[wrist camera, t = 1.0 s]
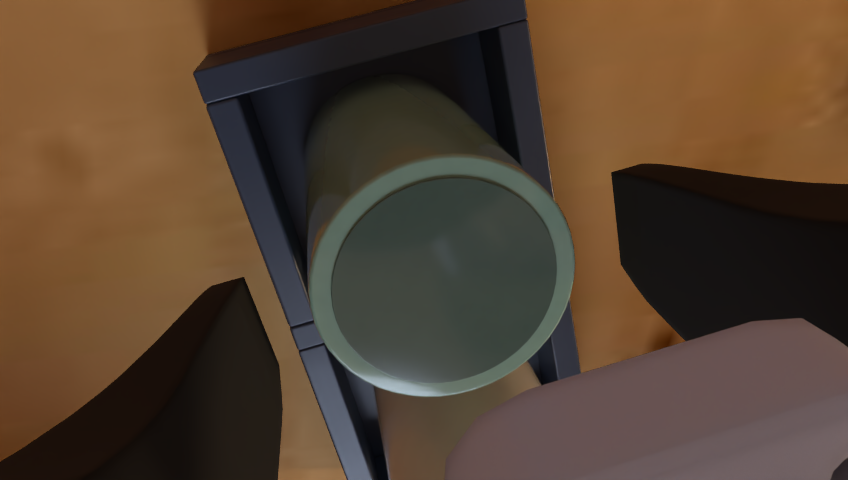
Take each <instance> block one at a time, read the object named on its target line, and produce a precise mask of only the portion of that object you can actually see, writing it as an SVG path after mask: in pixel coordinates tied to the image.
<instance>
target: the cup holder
mask: <svg viewBox="0 0 848 480" xmlns="http://www.w3.org/2000/svg"><path fill="white" fill-rule="evenodd" d="M526 18H527V10H526V3H525V0H416V1H412V2H408V3H404V4H400V5H397V6H393V7H389V8H385V9H381V10H377V11H374V12H370V13H366V14H362V15H358V16H355V17H351V18H347V19H343V20H339V21H335V22H332V23H328V24H324V25H320V26H316V27H312V28H309V29H305V30H301V31H297V32H293V33H289V34H286V35H282V36H278V37H274V38H270V39H267V40H263V41H259V42H255V43H251V44H247V45H244V46H240V47H236V48H232V49H228V50H224V51H221V52H217V53H213V54H209V55H207V56H206V58H205V59H204V60H203V61H202V62H201V64H200V65H199V66H198V67H197V68H196V70H195V71H194V72H193V74H194V77H195V80H196V82H197V85H198V88H199V90H200V93H201V96H202V98H203V101H204V103H205V104H207V111H208V113H209V116H210V119H211V121H212V124H213V127H214V129H215V132H216V134H217V137H218V140H219V142H220V145H221V148H222V150H223V153H224V156H225V158H226V161H227V164H228V166H229V169H230V171H231V174H232V177H233V179H234V182H235V185H236V187H237V190H238V193H239V195H240V198H241V200H242V203H243V206H244V208H245V211H246V214H247V216H248V219H249V222H250V224H251V227H252V230H253V232H254V235H255V237H256V240H257V243H258V245H259V248H260V251H261V253H262V256H263V259H264V261H265V264H266V267H267V269H268V272H269V274H270V277H271V280H272V282H273V285H274V288H275V290H276V293H277V296H278V298H279V301H280V303H281V306H282V309H283V311H284V314H285V317H286V319H287V322H288V324H289V326H290V330H291V333H292V336H293V338H294V341H295V343H296V346H297V348H298V350H299V354H300V357H301V359H302V362H303V365H304V367H305V370H306V373H307V375H308V378H309V381H310V383H311V386H312V389H313V391H314V394H315V396H316V399H317V402H318V404H319V407H320V410H321V412H322V415H323V418H324V420H325V423H326V425H327V428H328V431H329V433H330V436H331V439H332V441H333V444H334V447H335V449H336V452H337V454H338V457H339V460H340V462H341V465H342V468H343V470H344V473H345V476H346V478H347V480H388V474H387V468H386V462H385V457H384V451H383V445H382V439H381V434H380V428H379V422H378V416H377V411H376V405H375V399H374V393H373V388H372V384H370V383H367V382H365V381H364V380H362V379H361V378H359V377H357V376H356V375H354V374H353V373H351V372H350V371H349V370H348V369H347V368H346V367H344V366H343V365H342V364H341V363H340V362H339V361H338V360H337V359H336V358H335V357H334V356H333V354H332V353H331V352H330V351H329V350H328V348H327V347H326V345H325V343H324V342H323V340H322V339H321V337H320V335H319V333H318V330H317V328H316V326H315V324H314V321H313V317H312V313H311V310H310V304H309V295H308V275H307V246H306V218H305V189H304V147H305V141H306V138H307V134H308V131H309V128H310V126H311V124H312V122H313V120H314V118H315V116H316V115H317V113H318V112H319V110H320V109H321V108H322V106H323V105H324V104H325V103H326V102H327V101H328V100H329V99H330V98H331V97H332V96H333V95H334V94H335V93H336V92H338V91H339V90H341V89H342V88H344V87H345V86H347V85H349V84H351V83H353V82H355V81H357V80H360V79H362V78H365V77H368V76H373V75H378V74H390V73H393V74H405V75H410V76H414V77H417V78H420V79H423V80H426V81H428V82H430V83H431V84H433V85H435V86H437V87H438V88H440V89H441V90H442V91H444V92H445V93H446V94H447V95H448V96H449V97H451V98H452V99H453V100H454V101H455V102H456V103H457V104H458V105H459V106H460V107H461V108H462V109H463V110H464V111H465V112H466V113H467V114H468V115H469V116H470V117H471V118H472V119H473V120H474V121H475V122H476V123H477V124H479V125H480V126H481V127H482V128H483V129H484V130H485V131H486V132H487V133H488V134H489V135H490V136H491V137H492V138H493V139H494V140H495V141H496V142H497V143H498V144H499V145H500V146H501V147H502V148H503V149H504V150H505V151H506V152H508V153H509V154H510V155H511V156H512V157H513V158H514V159H515V160H516V161H517V162H518V163H519V164H520V165H521V166H522V167H523V168H524V169H525V170H526V171H527V172H528V173H529V174H530V175H531V176H532V177H533V178H534V179H535V180H536V181H538V182H539V183H540V184H541V185H542V186H543V187H544V188H545V189H546V190H547V191H548V192H549V194H550V195H551V196H552V197H553V199H554V200H555V198H554V191H553V184H552V178H551V171H550V164H549V158H548V151H547V145H546V138H545V131H544V125H543V118H542V111H541V105H540V98H539V91H538V85H537V78H536V71H535V65H534V58H533V51H532V45H531V38H530V31H529V25H528V21H527V20H526ZM528 362H529V363H530V365H531V367H532V369H533V371H534V372H535V374H536V376H537V378H538V380H539V381H540V383H541V385H545V384H548V383H551V382H554V381H558V380H561V379H564V378H567V377H571V376H574V375H577V374H581V370H580V363H579V357H578V350H577V343H576V337H575V330H574V323H573V317H572V310H571V303H570V298H569V301H568V303H567V306H566V309H565V311H564V313H563V315H562V317H561V319H560V321H559V323H558V325H557V326H556V328H555V329H554V331H553V332H552V334H551V335H550V337H549V338H548V339H547V340H546V342H545V343H544V344H543V345H542V346H541V348H540V349H539V350H538V351H537V352H536V353H535V354H534V355H533V356H532V357H530V358H529V359H528Z"/></svg>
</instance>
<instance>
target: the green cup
mask: <svg viewBox="0 0 848 480" xmlns="http://www.w3.org/2000/svg"><path fill="white" fill-rule="evenodd" d="M304 189H305V218H306V246H307V275H308V295H309V304H310V310H311V313H312V317H313V321H314V324H315V326H316V328H317V330H318V333H319V335H320V337H321V339H322V340H323V342H324V343H325V345H326V347H327V348H328V350H329V351H330V352H331V353H332V354H333V356H334V357H335V358H336V359H337V360H338V361H339V362H340V363H341V364H342V365H343V366H344V367H346V368H347V369H348V370H349V371H350V372H351V373H353V374H354V375H356V376H357V377H359V378H361V379H362V380H364V381H365V382H367V383H370V384H372V385H374V386H376V387H378V388H381V389H384V390H387V391H390V392H393V393H398V394H403V395H407V396H418V397H441V396H449V395H456V394H460V393H464V392H468V391H472V390H475V389H478V388H481V387H483V386H486V385H488V384H490V383H493V382H495V381H497V380H499V379H501V378H503V377H504V376H506V375H507V374H509V373H511V372H512V371H514V370H516V369H517V368H518V367H519V366H521V365H522V364H523V363H525V362H526V361H527V360H528V359H529V358H530V357H532V356H533V355H534V354H535V353H536V352H537V351H538V350H539V349H540V348H541V346H542V345H543V344H544V343H545V342H546V340H547V339H548V338H549V337H550V335H551V334H552V332H553V331H554V329H555V328H556V326H557V325H558V323H559V321H560V319H561V317H562V315H563V313H564V311H565V309H566V306H567V303H568V301H569V298H570V295H571V291H572V286H573V281H574V271H575V255H574V245H573V240H572V236H571V231H570V229H569V226H568V224H567V221H566V218H565V216H564V214H563V213H562V211H561V209H560V207H559V206H558V204H557V203H556V201H555V200H554V199H553V197H552V196H551V195H550V194H549V192H548V191H547V190H546V189H545V188H544V187H543V186H542V185H541V184H540V183H539V182H538V181H536V180H535V179H534V178H533V177H532V176H531V175H530V174H529V173H528V172H527V171H526V170H525V169H524V168H523V167H522V166H521V165H520V164H519V163H518V162H517V161H516V160H515V159H514V158H513V157H512V156H511V155H510V154H509V153H508V152H506V151H505V150H504V149H503V148H502V147H501V146H500V145H499V144H498V143H497V142H496V141H495V140H494V139H493V138H492V137H491V136H490V135H489V134H488V133H487V132H486V131H485V130H484V129H483V128H482V127H481V126H480V125H479V124H477V123H476V122H475V121H474V120H473V119H472V118H471V117H470V116H469V115H468V114H467V113H466V112H465V111H464V110H463V109H462V108H461V107H460V106H459V105H458V104H457V103H456V102H455V101H454V100H453V99H452V98H451V97H449V96H448V95H447V94H446V93H445V92H444V91H442V90H441V89H440V88H438V87H437V86H435V85H433V84H431V83H430V82H428V81H426V80H423V79H420V78H417V77H414V76H410V75H405V74H393V73H390V74H378V75H373V76H368V77H365V78H362V79H360V80H357V81H355V82H353V83H351V84H349V85H347V86H345V87H344V88H342V89H341V90H339V91H338V92H336V93H335V94H334V95H333V96H332V97H331V98H330V99H329V100H328V101H327V102H326V103H325V104H324V105H323V106H322V108H321V109H320V110H319V112H318V113H317V115H316V116H315V118H314V120H313V122H312V124H311V126H310V128H309V131H308V134H307V138H306V141H305V147H304Z"/></svg>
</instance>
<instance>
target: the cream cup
mask: <svg viewBox="0 0 848 480" xmlns="http://www.w3.org/2000/svg"><path fill="white" fill-rule="evenodd" d="M538 386H541V383H540V381H539V380H538V378H537V376H536V374H535V372H534V371H533V369H532V367H531V365H530V363H529V362H528V360H527V361H526V362H525V363H523V364H522V365H521V366H519V367H518V368H517V369H516V370H514V371H512V372H511V373H509V374H507V375H506V376H504V377H503V378H501V379H499V380H497V381H495V382H493V383H490V384H488V385H486V386H483V387H481V388H478V389H475V390H472V391H468V392H464V393H460V394H456V395H449V396H441V397H418V396H407V395H403V394H398V393H393V392H390V391H387V390H384V389H381V388H378V387H376V386H374V385H372V388H373V393H374V399H375V405H376V411H377V416H378V422H379V428H380V434H381V439H382V445H383V451H384V457H385V462H386V468H387V474H388V480H445V465H446V458H447V457H448V455H449V454H450V453H451V451H452V450H453V449H454V447H455V446H456V445H457V443H458V442H459V440H460V439H461V438H462V436H463V435H464V434H465V432H466V431H467V430H468V428H469V427H470V425H471V424H472V423H473V421H474V420H475V419H476V417H478V416H480V415H482V414H484V413H485V412H487V411H489V410H491V409H493V408H495V407H496V406H498V405H500V404H502V403H504V402H506V401H507V400H509V399H511V398H513V397H515V396H516V395H518V394H520V393H522V392H524V391H526V390H528V389H531V388H535V387H538Z"/></svg>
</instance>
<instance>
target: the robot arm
mask: <svg viewBox="0 0 848 480" xmlns="http://www.w3.org/2000/svg"><path fill="white" fill-rule="evenodd" d="M611 174H612V184H613V193H614V203H615V212H616V222H617V232H618V241H619V251H620V260H621V265H622V267H623V268H624V270H625V271H626V273H627V274H628V276H629V277H630V279H631V280H632V282H633V283H634V284H635V286H636V287H637V289H638V290H639V291H640V293H641V294H642V295H643V297H644V298H645V299H646V301H647V302H648V303H649V304H650V305H651V306H652V307H653V308H654V309H655V310H656V311H657V312H658V313H659V314H660V315H661V316H662V317H663V318H664V319H665V321H666V322H667V323H668V324H669V325H670V326H671V327H672V328H673V329H674V330H675V331H676V332H677V333H678V334H679V335H680V336H681V337H682V338H683V339H684V340H685V341H686V342H682V343H679V344H676V345H673V346H669V347H666V348H663V349H659V350H656V351H653V352H650V353H646V354H643V355H640V356H636V357H633V358H630V359H627V360H623V361H620V362H617V363H613V364H610V365H607V366H604V367H600V368H597V369H594V370H590V371H587V372H584V373H581V374H577V375H574V376H571V377H567V378H564V379H561V380H558V381H554V382H551V383H548V384H545V385H541V386H538V387H535V388H531V389H528V390H526V391H524V392H522V393H520V394H518V395H516V396H515V397H513V398H511V399H509V400H507V401H506V402H504V403H502V404H500V405H498V406H496V407H495V408H493V409H491V410H489V411H487V412H485V413H484V414H482V415H480V416H478V417H476V419H475V420H474V421H473V423H472V424H471V425H470V427H469V428H468V430H467V431H466V432H465V434H464V435H463V436H462V438H461V439H460V440H459V442H458V443H457V445H456V446H455V447H454V449H453V450H452V451H451V453H450V454H449V455H448V457H447V458H446V465H445V480H848V184H827V183H807V182H793V181H784V180H774V179H764V178H756V177H748V176H741V175H733V174H727V173H720V172H713V171H707V170H700V169H693V168H687V167H680V166H672V165H663V164H639V165H636V166H632V167H629V168H625V169H621V170H618V171H614V172H611ZM282 410H283V408H282V393H281V381H280V370H279V364H278V361H277V359H276V356H275V354H274V351H273V349H272V346H271V344H270V341H269V339H268V336H267V334H266V331H265V329H264V326H263V324H262V321H261V319H260V316H259V314H258V311H257V309H256V306H255V304H254V301H253V299H252V296H251V294H250V291H249V289H248V286H247V284H246V281H245V279H244V277H241V278H238V279H234V280H231V281H227V282H224V283H220V284H217V285H213V286H211V287H210V288H208V289H207V290H206V291H205V292H203V293H202V294H201V295H200V296H199V297H198V298H197V299H196V300H195V301H194V302H193V303H192V304H191V305H190V306H189V308H188V309H187V310H186V311H185V312H184V313H183V314H182V315H181V316H180V317H179V318H178V319H177V320H176V321H175V322H174V323H173V324H172V325H171V327H170V328H169V329H168V330H167V331H166V332H165V333H164V334H163V335H162V336H161V337H160V338H159V339H158V340H157V341H156V342H155V343H154V344H153V345H152V346H151V347H150V348H149V349H148V350H147V351H146V352H145V353H144V354H143V355H142V356H141V357H139V358H138V359H137V360H136V361H135V362H134V363H133V364H132V365H131V366H130V367H129V368H128V369H127V370H126V371H125V372H124V373H123V374H122V375H120V376H119V377H118V378H117V379H116V380H115V381H114V382H112V383H111V384H110V385H109V386H108V387H107V388H105V389H104V390H103V391H102V392H101V393H99V394H98V395H97V396H95V397H94V398H93V399H92V400H90V401H89V402H88V403H87V404H85V405H84V406H83V407H81V408H80V409H79V410H78V411H76V412H75V413H74V414H72V415H71V416H69V417H68V418H67V419H65V420H64V421H62V422H61V423H59V424H58V425H56V426H55V427H53V428H52V429H50V430H49V431H47V432H46V433H44V434H43V435H41V436H40V437H38V438H37V439H36V440H34V441H33V442H31V443H30V444H28V445H27V446H25V447H24V448H22V449H21V450H19V451H17V452H16V453H14V454H13V455H11V456H9V457H8V458H6V459H4V460H3V461H1V462H0V480H278V468H279V455H280V441H281V427H282Z"/></svg>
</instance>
